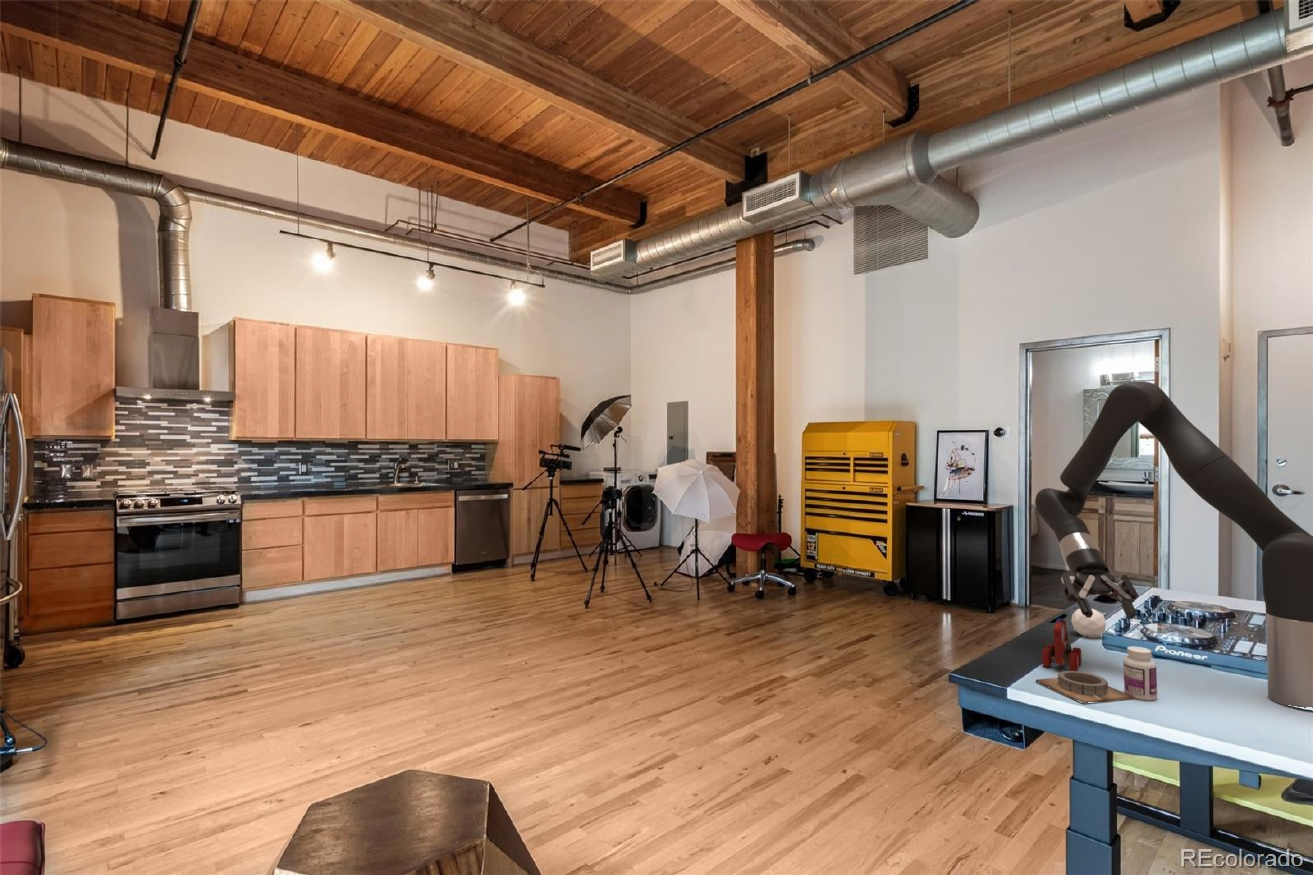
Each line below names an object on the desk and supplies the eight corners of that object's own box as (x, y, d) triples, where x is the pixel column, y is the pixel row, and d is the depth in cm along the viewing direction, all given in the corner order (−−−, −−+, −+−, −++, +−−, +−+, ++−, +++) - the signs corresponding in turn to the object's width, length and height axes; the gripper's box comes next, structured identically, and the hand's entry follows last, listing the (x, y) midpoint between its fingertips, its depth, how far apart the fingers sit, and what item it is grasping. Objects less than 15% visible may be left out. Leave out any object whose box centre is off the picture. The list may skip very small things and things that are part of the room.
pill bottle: (1145, 691, 131) (1144, 645, 131) (1163, 701, 126) (1162, 653, 126) (1118, 690, 131) (1117, 644, 132) (1135, 700, 126) (1133, 653, 126)
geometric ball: (1079, 645, 169) (1059, 618, 173) (1103, 633, 171) (1081, 606, 175) (1095, 639, 163) (1073, 611, 167) (1119, 626, 164) (1097, 599, 168)
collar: (1081, 677, 139) (1081, 666, 139) (1133, 699, 127) (1133, 686, 127) (1035, 682, 136) (1035, 670, 136) (1084, 704, 124) (1083, 691, 124)
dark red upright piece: (1083, 661, 149) (1082, 618, 149) (1076, 676, 140) (1075, 629, 140) (1049, 655, 154) (1048, 613, 154) (1040, 669, 144) (1039, 624, 144)
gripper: (1055, 546, 149) (1082, 606, 137) (1121, 547, 147) (1153, 608, 135) (1046, 564, 154) (1070, 624, 142) (1109, 565, 152) (1139, 626, 140)
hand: (1111, 616), depth 139 cm, fingers open, 8 cm apart
